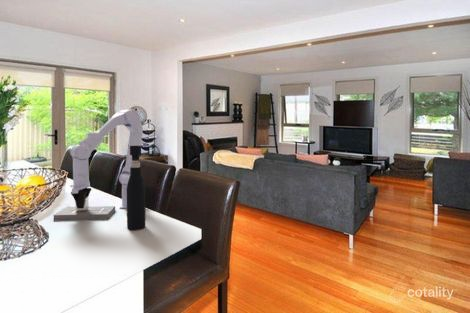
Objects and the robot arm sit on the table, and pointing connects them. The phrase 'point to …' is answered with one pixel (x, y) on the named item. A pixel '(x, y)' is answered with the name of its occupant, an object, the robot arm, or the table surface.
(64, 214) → the fader console
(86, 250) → the table surface
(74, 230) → the table surface
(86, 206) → the fader knob
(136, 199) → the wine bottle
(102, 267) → the table surface
